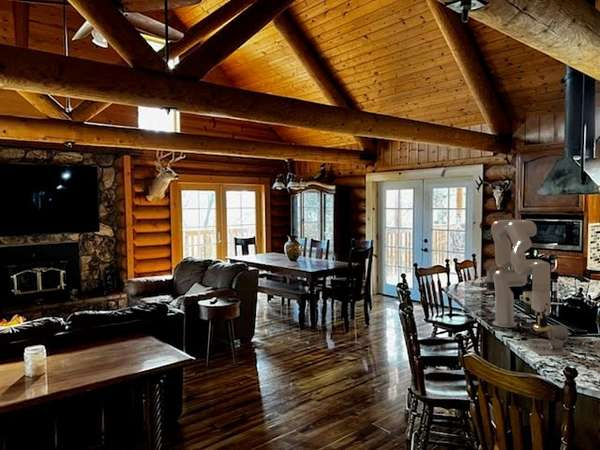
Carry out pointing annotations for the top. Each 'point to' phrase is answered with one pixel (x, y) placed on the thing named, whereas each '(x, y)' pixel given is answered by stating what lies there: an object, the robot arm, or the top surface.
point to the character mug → (527, 302)
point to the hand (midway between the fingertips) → (541, 325)
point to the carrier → (546, 346)
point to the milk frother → (489, 280)
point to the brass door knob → (538, 328)
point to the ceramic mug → (558, 333)
